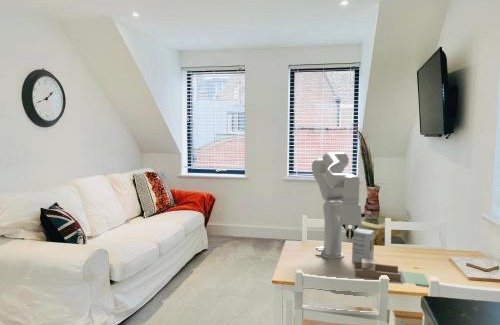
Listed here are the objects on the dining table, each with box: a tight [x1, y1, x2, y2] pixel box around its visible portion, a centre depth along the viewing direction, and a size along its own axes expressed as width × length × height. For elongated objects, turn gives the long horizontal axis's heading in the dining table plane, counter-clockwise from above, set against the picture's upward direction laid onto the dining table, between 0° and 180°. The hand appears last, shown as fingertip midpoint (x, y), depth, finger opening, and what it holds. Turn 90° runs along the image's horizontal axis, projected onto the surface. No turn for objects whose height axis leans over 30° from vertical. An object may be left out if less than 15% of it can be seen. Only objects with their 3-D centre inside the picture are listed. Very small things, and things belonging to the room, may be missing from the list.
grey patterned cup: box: [361, 258, 376, 271], centre depth 172 cm, size 6×6×6 cm
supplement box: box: [351, 227, 375, 263], centre depth 189 cm, size 10×9×17 cm
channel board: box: [354, 262, 430, 287], centre depth 169 cm, size 32×14×4 cm, turn 74°
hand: (349, 238), depth 173 cm, fingers closed
